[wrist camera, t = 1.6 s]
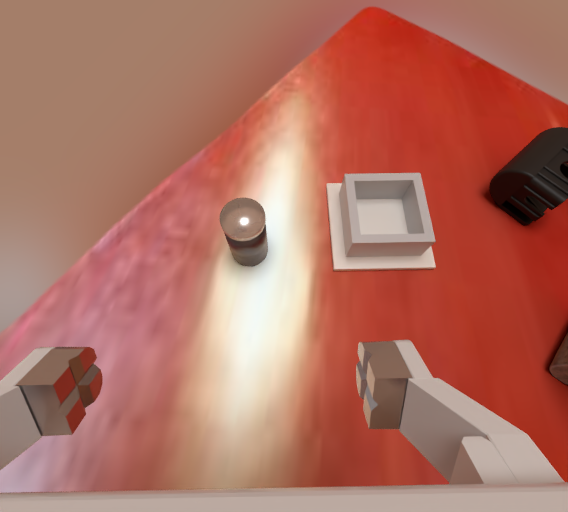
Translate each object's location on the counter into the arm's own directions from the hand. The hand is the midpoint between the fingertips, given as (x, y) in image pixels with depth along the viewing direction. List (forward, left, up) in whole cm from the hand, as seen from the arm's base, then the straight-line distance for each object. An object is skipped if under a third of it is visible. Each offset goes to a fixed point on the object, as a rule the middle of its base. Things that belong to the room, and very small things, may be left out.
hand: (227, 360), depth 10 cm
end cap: (+34, +23, -26) cm, 49 cm away
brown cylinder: (-2, +15, -26) cm, 30 cm away
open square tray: (+14, +18, -26) cm, 34 cm away
